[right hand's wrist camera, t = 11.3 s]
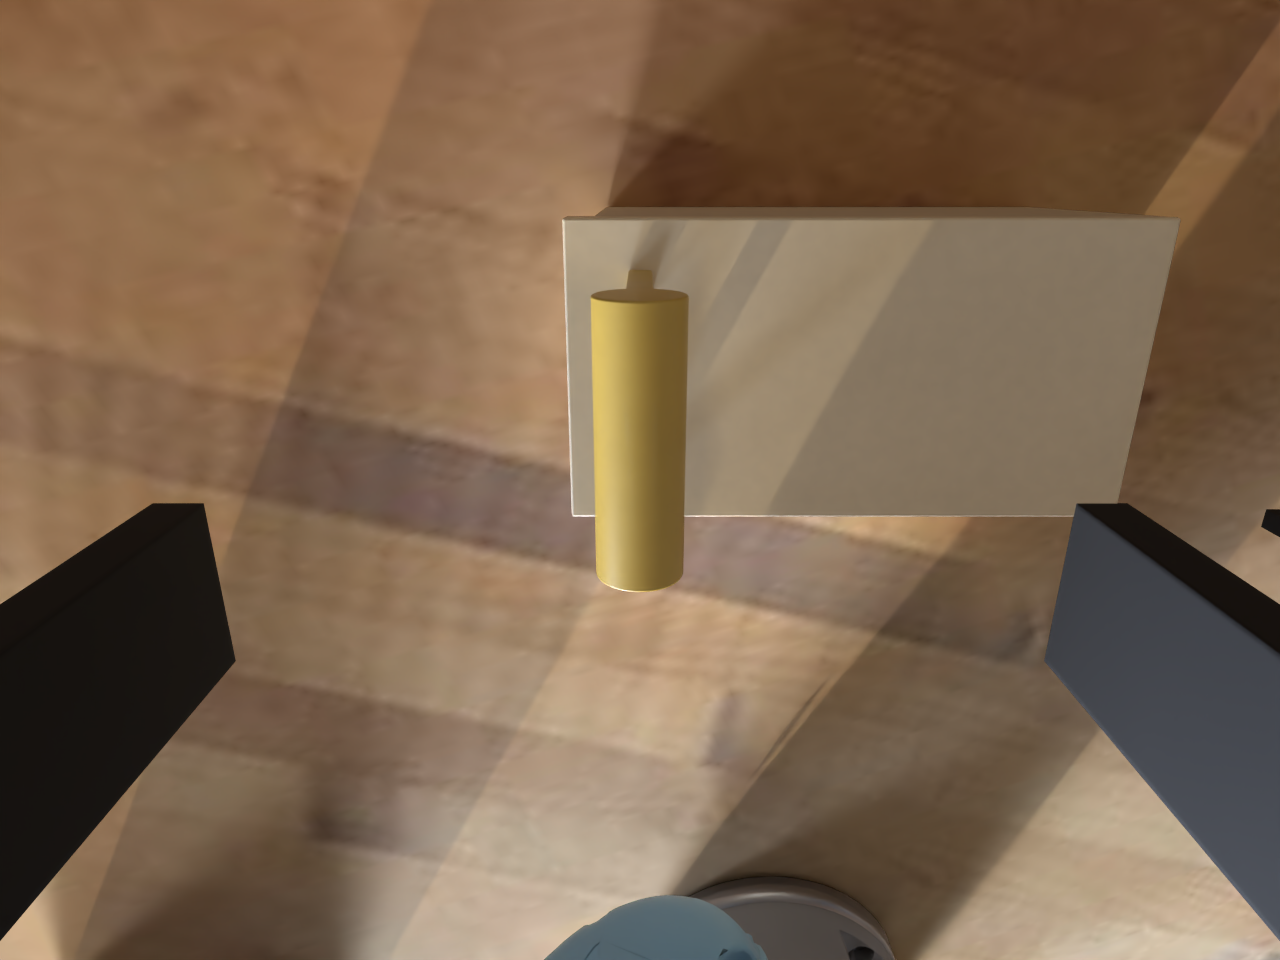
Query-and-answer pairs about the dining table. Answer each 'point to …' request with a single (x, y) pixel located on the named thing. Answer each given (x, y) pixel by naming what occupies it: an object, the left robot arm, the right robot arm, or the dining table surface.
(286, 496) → the dining table surface
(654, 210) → the chest
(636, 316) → the lid
